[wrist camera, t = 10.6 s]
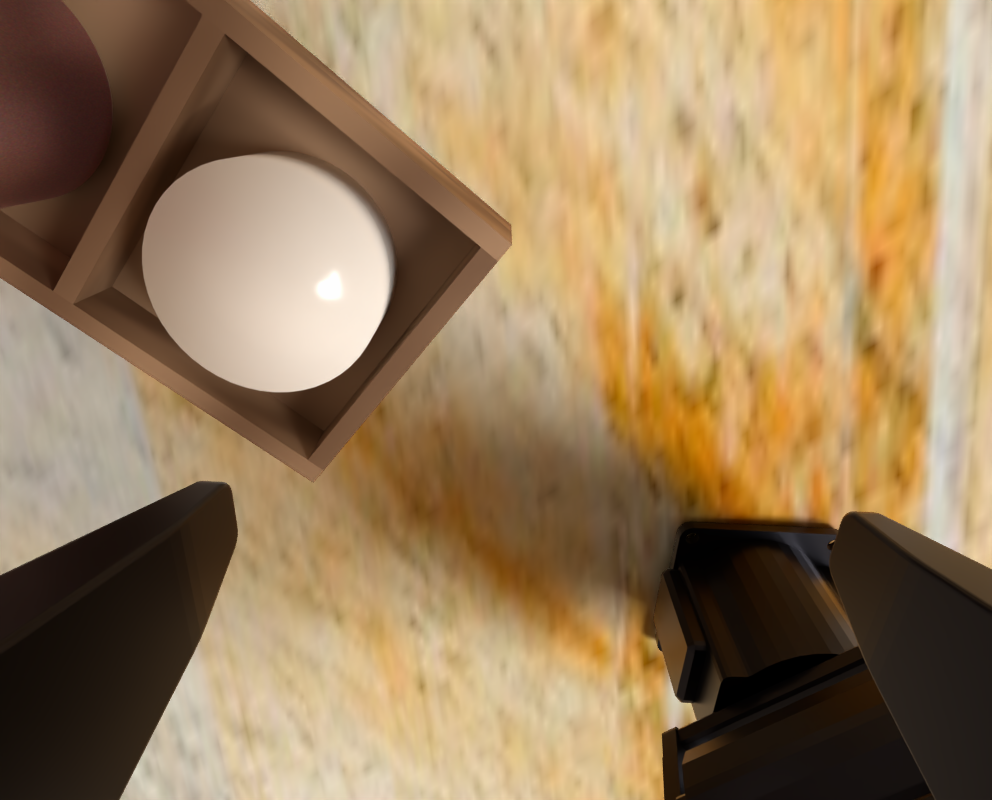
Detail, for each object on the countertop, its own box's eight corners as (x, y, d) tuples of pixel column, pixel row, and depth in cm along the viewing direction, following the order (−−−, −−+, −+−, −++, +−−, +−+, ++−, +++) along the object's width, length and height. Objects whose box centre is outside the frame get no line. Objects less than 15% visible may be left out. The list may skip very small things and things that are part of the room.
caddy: (511, 225, 20) (511, 244, 17) (337, 436, 24) (313, 482, 21) (-38, -248, 16) (-163, -329, 13) (-159, 97, 19) (-279, 95, 16)
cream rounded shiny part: (395, 156, 18) (377, 164, 16) (399, 362, 21) (384, 397, 18) (174, 144, 18) (119, 151, 16) (205, 352, 21) (164, 386, 18)
